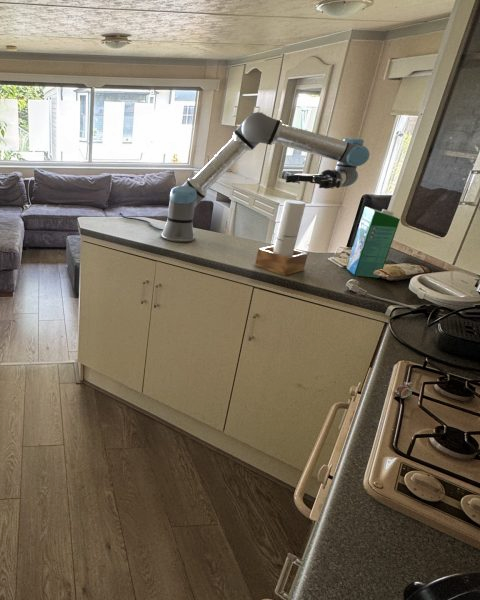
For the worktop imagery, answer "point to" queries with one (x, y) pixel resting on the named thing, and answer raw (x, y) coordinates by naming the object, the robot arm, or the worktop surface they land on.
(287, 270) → the holder
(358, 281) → the worktop surface
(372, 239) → the milk carton
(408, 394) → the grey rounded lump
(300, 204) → the cylindrical container
